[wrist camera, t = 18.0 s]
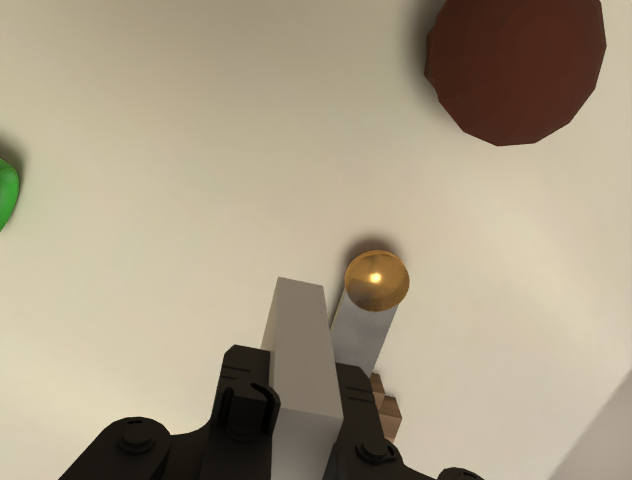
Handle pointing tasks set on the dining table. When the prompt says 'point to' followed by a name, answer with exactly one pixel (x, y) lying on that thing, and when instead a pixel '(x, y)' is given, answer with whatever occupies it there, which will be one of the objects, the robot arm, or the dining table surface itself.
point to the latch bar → (367, 307)
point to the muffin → (515, 65)
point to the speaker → (7, 191)
